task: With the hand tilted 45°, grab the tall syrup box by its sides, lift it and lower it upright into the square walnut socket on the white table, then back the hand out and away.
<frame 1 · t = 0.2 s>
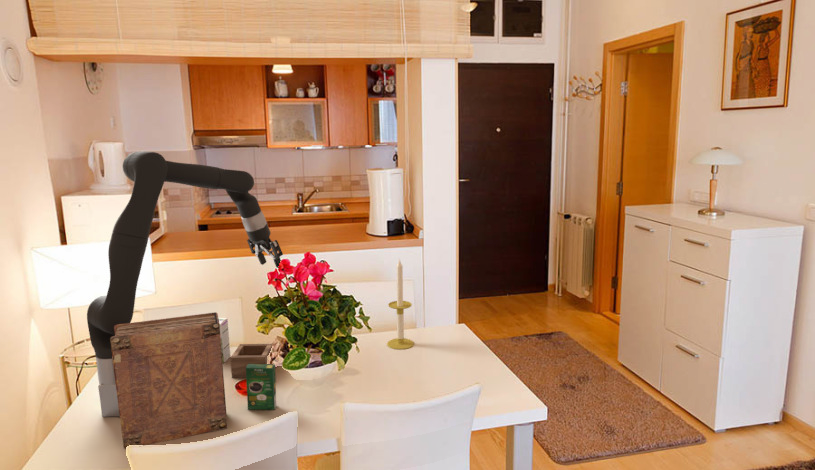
hand: (271, 265, 196), 31 cm above the table, tool tilted 20°, fingers open, 8 cm apart
walnut socket: (253, 370, 183), on the table
candle: (400, 344, 203), on the table
book: (177, 430, 147), on the table
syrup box: (219, 360, 191), on the table
coffee box: (262, 408, 158), on the table
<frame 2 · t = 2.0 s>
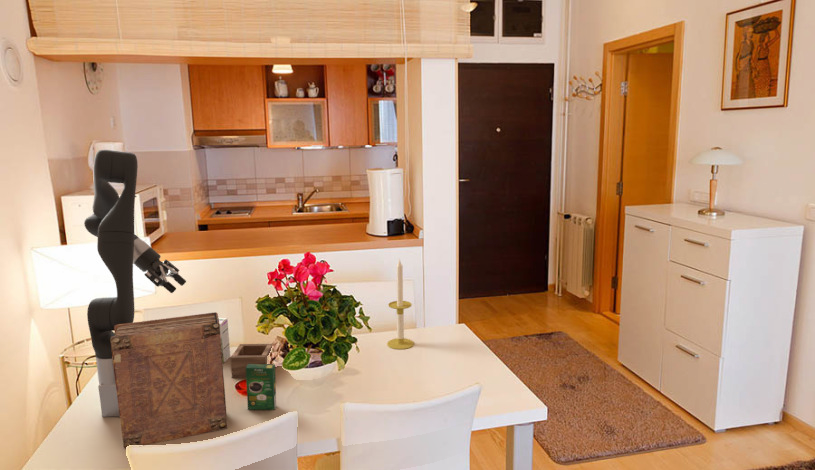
hand: (179, 287, 186), 26 cm above the table, tool tilted 45°, fingers open, 8 cm apart
nothing on the table moved.
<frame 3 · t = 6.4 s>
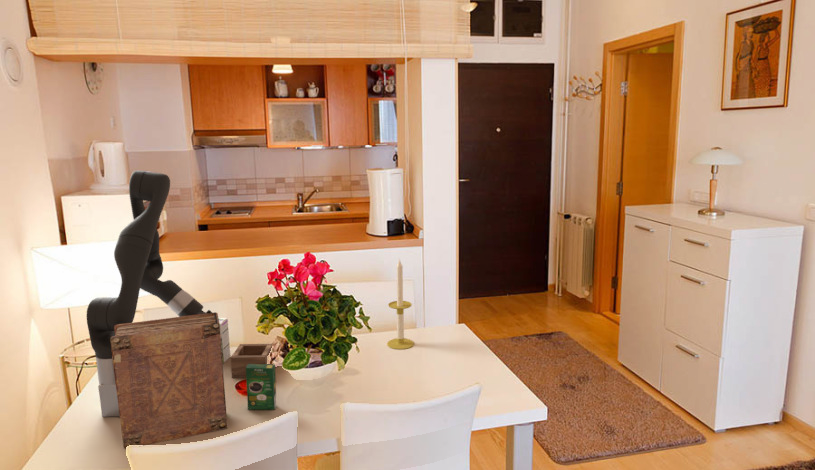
hand: (222, 338, 190), 8 cm above the table, tool tilted 45°, fingers closed on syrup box, 6 cm apart
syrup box: (219, 360, 191), on the table, touching gripper
everything else where it was.
when the fingers open (10 cm above the table, at t = 14.1 s): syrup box drops 1 cm, resting on walnut socket.
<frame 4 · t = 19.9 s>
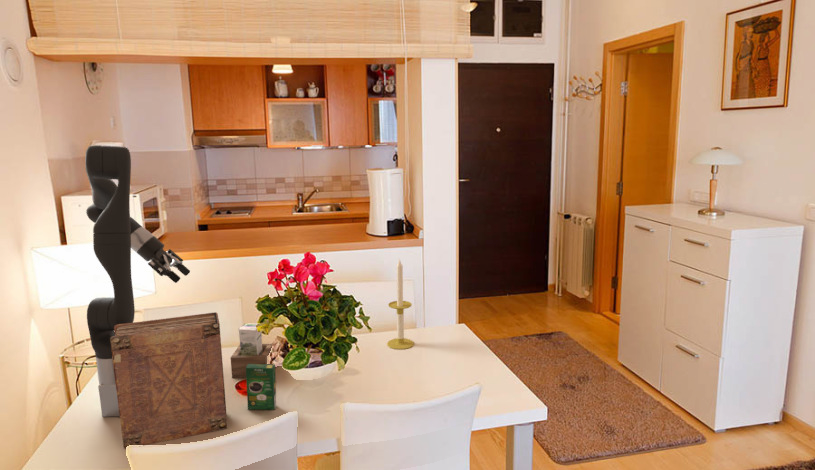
hand: (183, 277, 182), 31 cm above the table, tool tilted 45°, fingers open, 8 cm apart
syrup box: (252, 367, 183), point 1 cm above the table, touching walnut socket
everything else where it was.
at the end: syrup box 0.3 cm off-centre on the walnut socket, point 0.8 cm above the walnut socket's base; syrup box tilted 0°; the gripper is holding nothing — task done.
